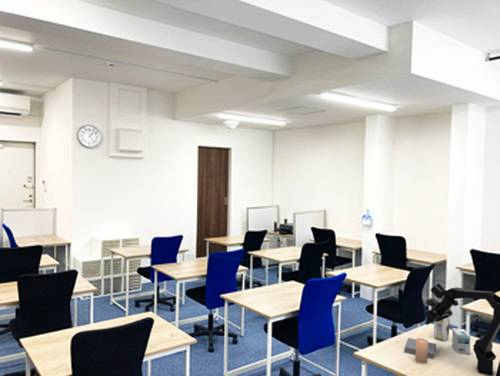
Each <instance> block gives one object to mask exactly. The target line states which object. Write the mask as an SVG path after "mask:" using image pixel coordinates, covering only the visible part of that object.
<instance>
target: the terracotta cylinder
mask: <svg viewBox="0 0 500 376" xmlns="http://www.w3.org/2000/svg"><path fill="white" fill-rule="evenodd" d="M415 339H416V354H415V355H414V356H415V359H414V360H415V361H416V363H417V362H418V363H420V364H427V363H428V358H427V357H428V342H429V341H428V339H425V338H415Z"/></svg>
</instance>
